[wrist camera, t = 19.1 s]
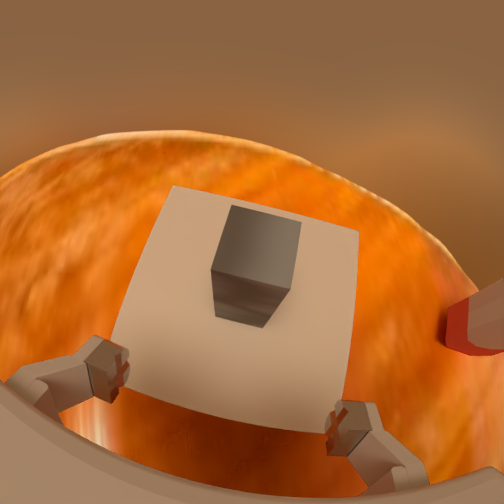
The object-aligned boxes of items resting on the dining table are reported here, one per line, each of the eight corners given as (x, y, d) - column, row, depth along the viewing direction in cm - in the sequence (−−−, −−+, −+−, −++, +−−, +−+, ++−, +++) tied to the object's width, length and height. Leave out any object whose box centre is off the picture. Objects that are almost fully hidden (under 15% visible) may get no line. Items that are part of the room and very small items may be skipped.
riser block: (341, 252, 32) (358, 231, 28) (315, 426, 23) (333, 434, 19) (178, 212, 32) (173, 185, 28) (119, 377, 23) (99, 375, 19)
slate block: (272, 284, 24) (301, 222, 15) (262, 328, 22) (290, 289, 13) (227, 273, 24) (231, 204, 15) (215, 316, 22) (210, 269, 13)
